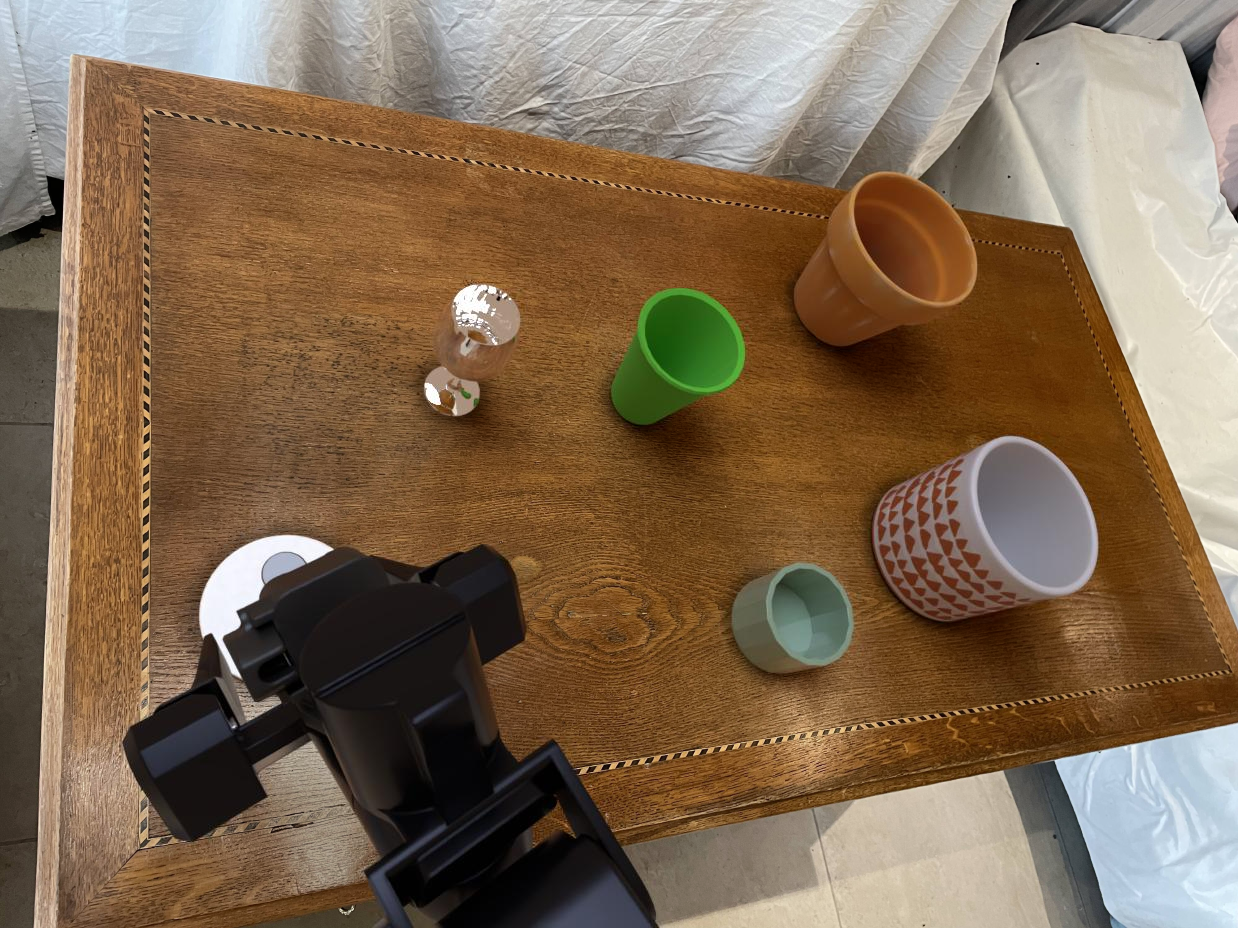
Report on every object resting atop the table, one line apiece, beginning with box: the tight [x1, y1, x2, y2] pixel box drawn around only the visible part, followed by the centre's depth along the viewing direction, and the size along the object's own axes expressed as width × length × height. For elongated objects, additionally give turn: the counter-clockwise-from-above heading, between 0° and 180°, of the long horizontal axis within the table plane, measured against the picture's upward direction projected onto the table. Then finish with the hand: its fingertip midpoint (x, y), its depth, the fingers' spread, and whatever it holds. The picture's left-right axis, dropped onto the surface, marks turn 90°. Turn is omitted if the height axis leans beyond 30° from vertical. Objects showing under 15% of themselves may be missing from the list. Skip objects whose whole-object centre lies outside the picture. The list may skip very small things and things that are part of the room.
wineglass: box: [423, 283, 521, 417], centre depth 57 cm, size 6×6×12 cm
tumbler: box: [730, 562, 855, 675], centre depth 64 cm, size 8×8×6 cm
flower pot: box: [793, 171, 978, 347], centre depth 76 cm, size 14×14×13 cm
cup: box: [610, 287, 746, 426], centre depth 64 cm, size 9×9×11 cm
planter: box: [871, 435, 1099, 622], centre depth 70 cm, size 14×14×13 cm
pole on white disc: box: [198, 534, 335, 681], centre depth 48 cm, size 10×10×11 cm
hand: (294, 599), depth 45 cm, fingers open, 9 cm apart
